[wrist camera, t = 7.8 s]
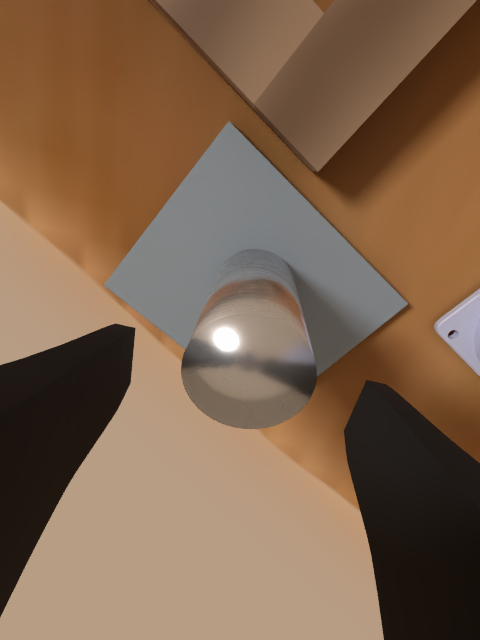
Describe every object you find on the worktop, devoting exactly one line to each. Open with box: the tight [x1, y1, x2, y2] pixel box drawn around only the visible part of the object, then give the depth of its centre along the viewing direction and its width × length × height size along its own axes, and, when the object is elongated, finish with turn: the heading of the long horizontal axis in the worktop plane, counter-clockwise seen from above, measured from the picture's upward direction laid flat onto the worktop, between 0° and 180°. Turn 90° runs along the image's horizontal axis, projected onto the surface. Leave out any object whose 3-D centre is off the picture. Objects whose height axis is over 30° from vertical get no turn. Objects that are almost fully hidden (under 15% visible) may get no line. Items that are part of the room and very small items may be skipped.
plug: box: [181, 249, 317, 429], centre depth 14 cm, size 4×4×8 cm
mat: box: [104, 121, 408, 377], centre depth 18 cm, size 12×10×1 cm
